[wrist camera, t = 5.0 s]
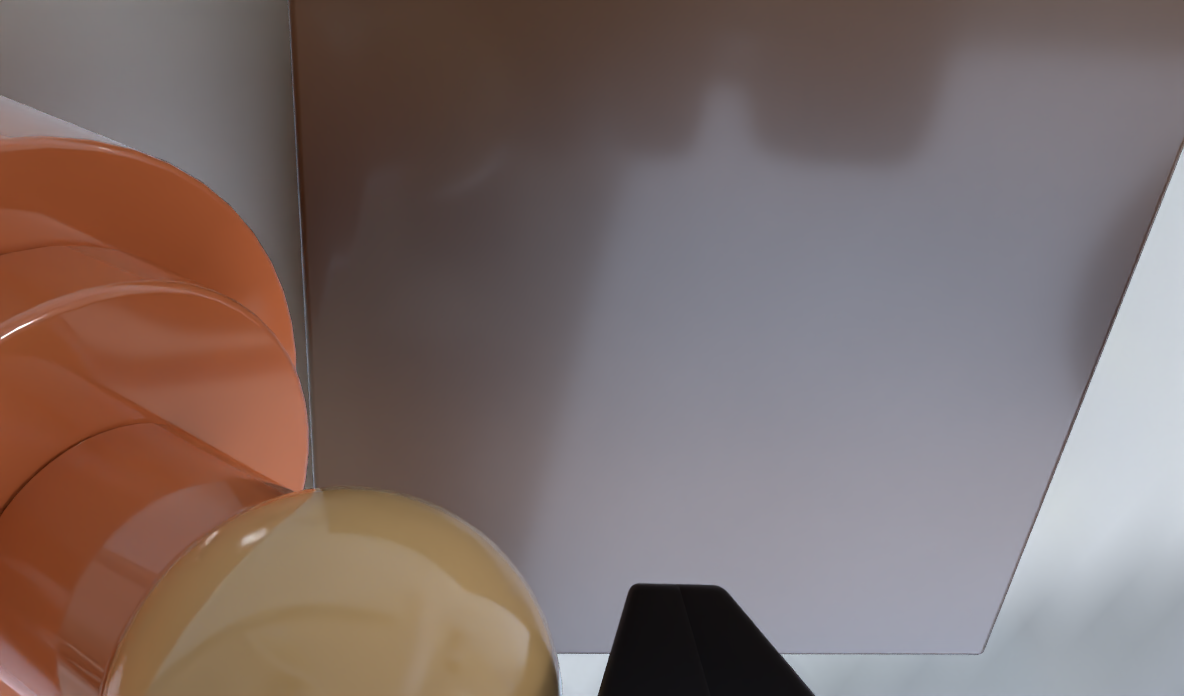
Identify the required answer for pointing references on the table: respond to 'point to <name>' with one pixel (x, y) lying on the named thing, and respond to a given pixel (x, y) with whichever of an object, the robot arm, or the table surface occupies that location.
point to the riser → (727, 285)
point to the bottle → (201, 468)
